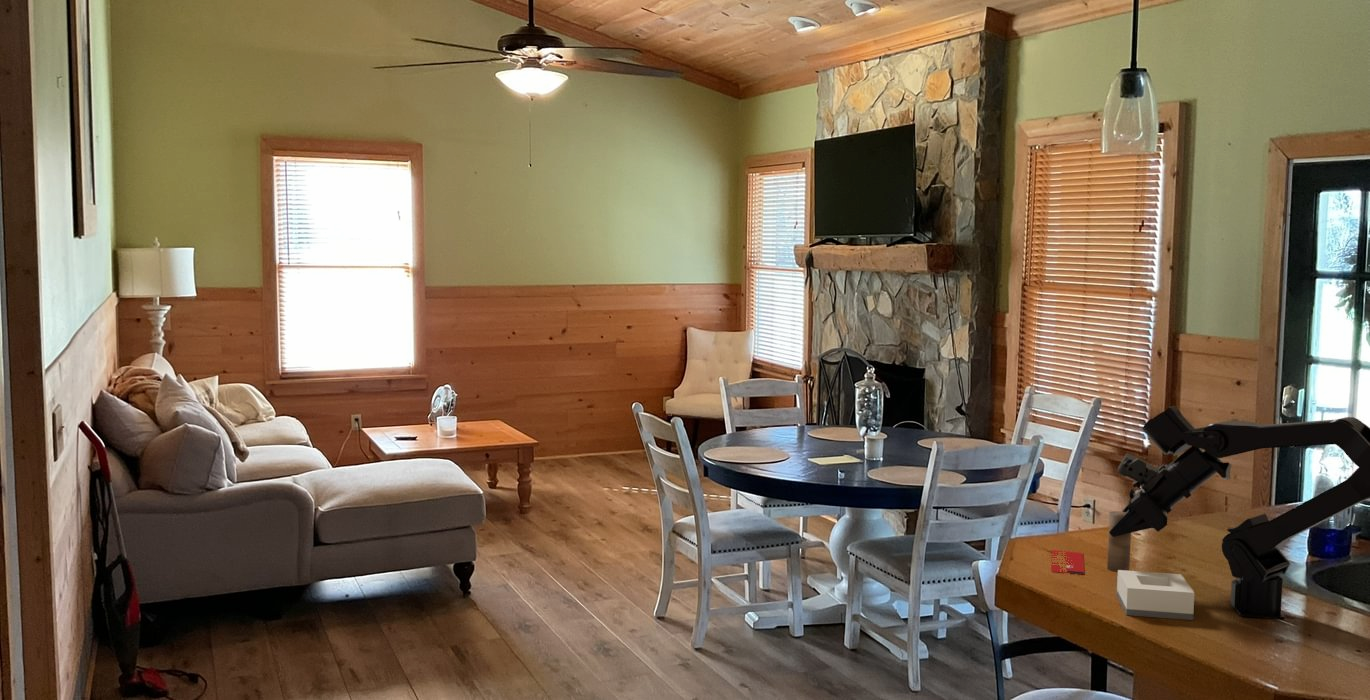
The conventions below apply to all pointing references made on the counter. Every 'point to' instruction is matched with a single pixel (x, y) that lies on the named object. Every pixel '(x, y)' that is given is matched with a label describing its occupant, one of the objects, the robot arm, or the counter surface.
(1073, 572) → the electronic device
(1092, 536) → the counter surface
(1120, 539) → the walnut pin
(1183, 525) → the counter surface
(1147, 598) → the bore block
